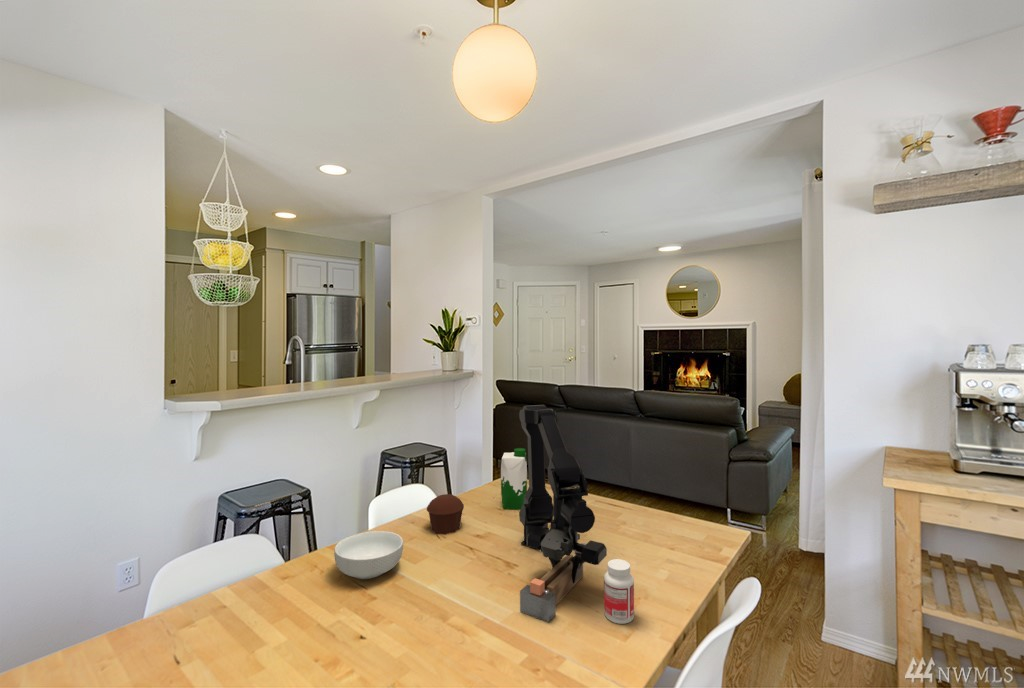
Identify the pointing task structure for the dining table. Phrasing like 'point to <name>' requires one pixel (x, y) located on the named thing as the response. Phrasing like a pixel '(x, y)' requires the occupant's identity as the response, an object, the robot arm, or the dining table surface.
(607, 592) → the pill bottle
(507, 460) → the milk carton
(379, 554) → the cereal bowl
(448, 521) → the muffin
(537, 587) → the tab
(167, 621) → the dining table surface
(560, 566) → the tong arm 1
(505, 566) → the dining table surface
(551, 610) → the grey block
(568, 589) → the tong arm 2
